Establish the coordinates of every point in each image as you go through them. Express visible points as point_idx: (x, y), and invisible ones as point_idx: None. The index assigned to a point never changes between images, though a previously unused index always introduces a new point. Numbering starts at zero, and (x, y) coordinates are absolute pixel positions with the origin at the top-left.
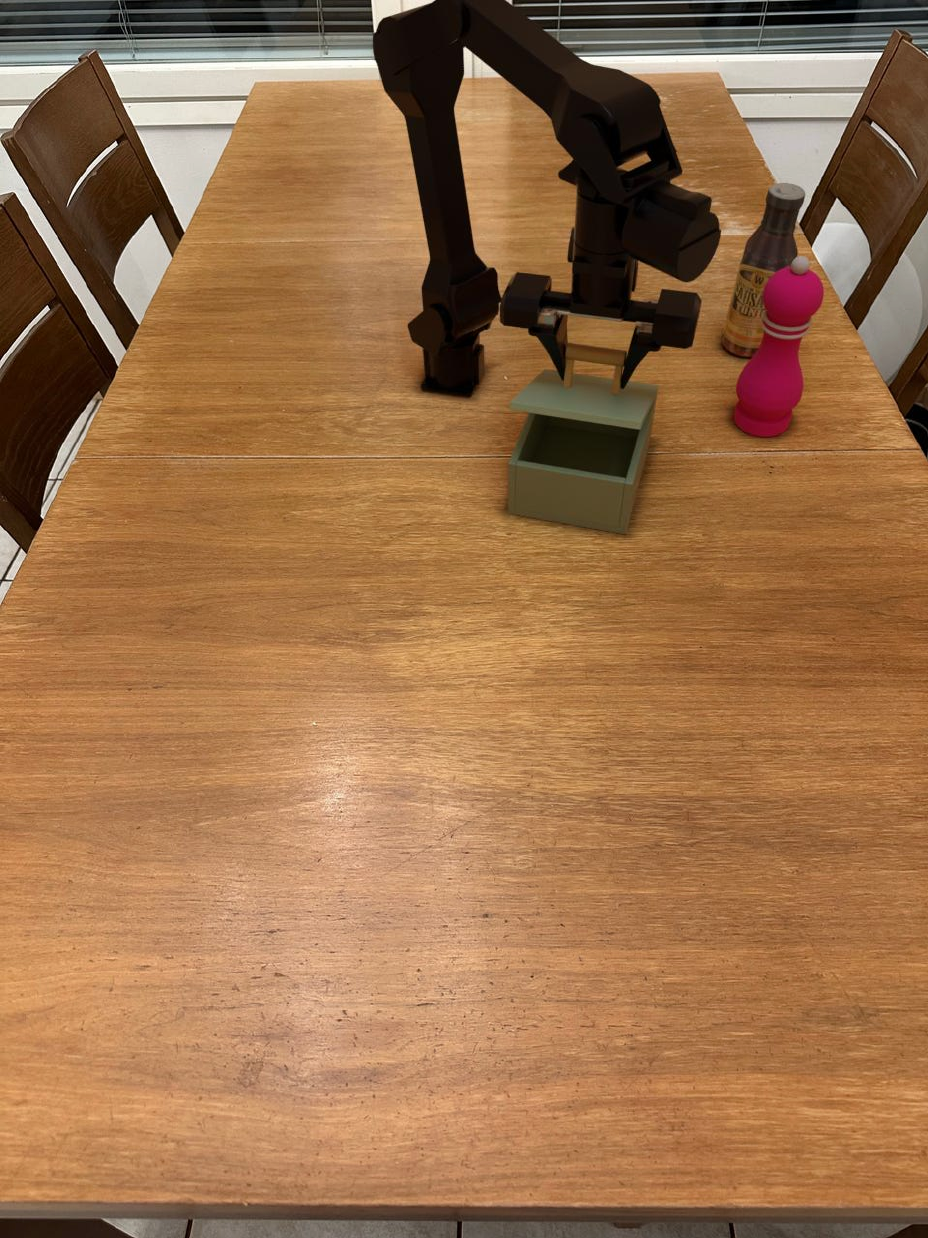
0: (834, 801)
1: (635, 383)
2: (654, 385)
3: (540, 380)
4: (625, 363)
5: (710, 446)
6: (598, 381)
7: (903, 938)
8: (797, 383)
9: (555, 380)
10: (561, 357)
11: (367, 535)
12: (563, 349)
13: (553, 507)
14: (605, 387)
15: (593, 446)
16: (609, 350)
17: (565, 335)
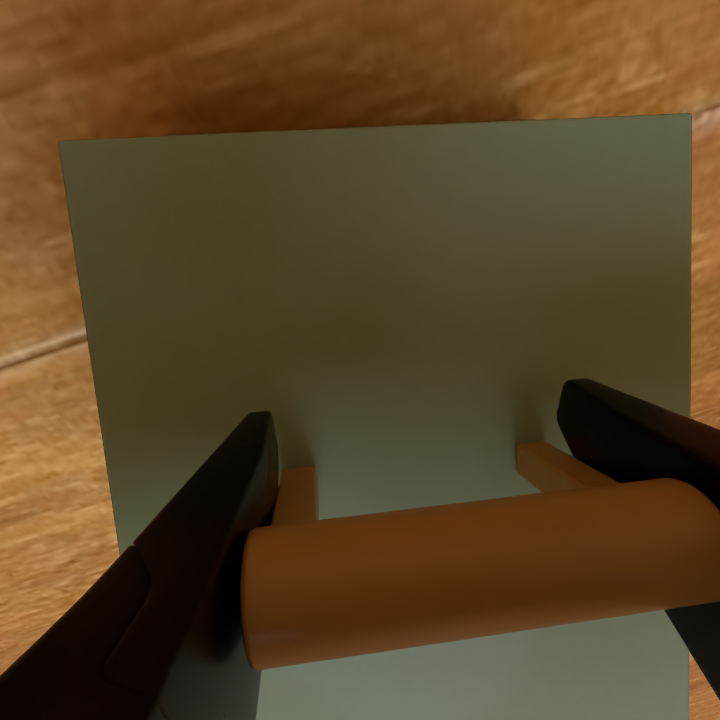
0: (697, 664)
1: (583, 152)
2: (674, 129)
3: (142, 444)
4: (706, 678)
5: (707, 77)
6: (408, 249)
7: (712, 714)
8: None
9: (209, 386)
10: (257, 697)
11: (19, 601)
12: (241, 684)
13: None
14: (466, 357)
15: None
16: (608, 609)
17: (196, 712)
